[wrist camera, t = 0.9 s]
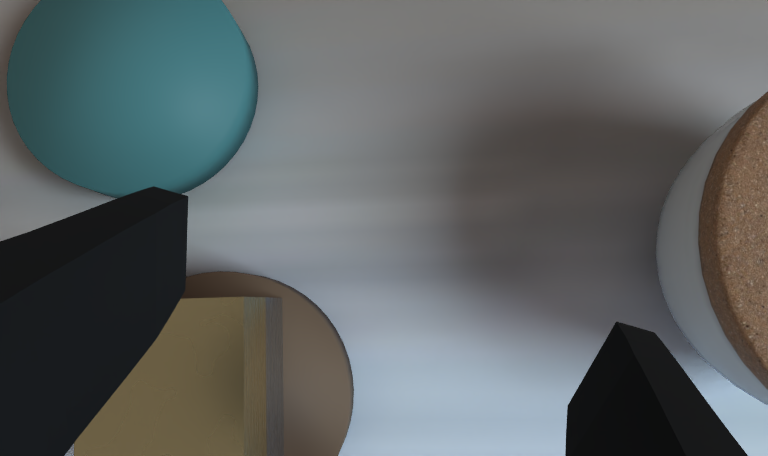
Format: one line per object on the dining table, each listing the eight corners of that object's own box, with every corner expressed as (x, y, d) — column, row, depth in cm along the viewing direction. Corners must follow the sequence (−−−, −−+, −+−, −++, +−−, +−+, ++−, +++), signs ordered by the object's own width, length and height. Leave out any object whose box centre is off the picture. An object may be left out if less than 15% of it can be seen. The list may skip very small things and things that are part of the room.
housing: (284, 507, 20) (244, 574, 15) (152, 509, 20) (70, 577, 15) (282, 297, 21) (243, 296, 16) (156, 301, 21) (79, 301, 16)
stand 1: (145, 247, 23) (121, 243, 21) (-6, 98, 24) (-42, 80, 22) (303, 84, 24) (294, 64, 22) (150, -55, 25) (128, -86, 23)
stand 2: (235, 571, 22) (218, 599, 20) (70, 397, 23) (38, 407, 21) (403, 388, 22) (403, 396, 20) (234, 226, 23) (218, 219, 21)
